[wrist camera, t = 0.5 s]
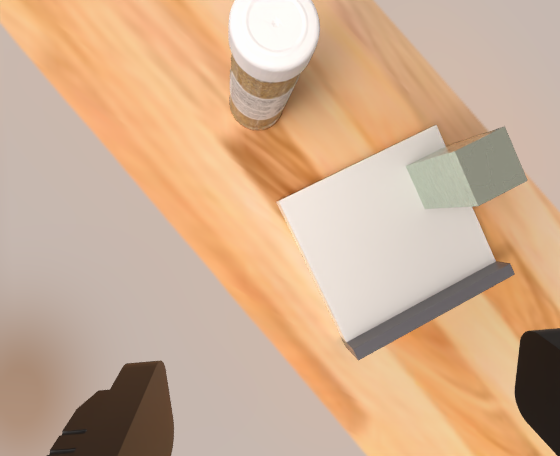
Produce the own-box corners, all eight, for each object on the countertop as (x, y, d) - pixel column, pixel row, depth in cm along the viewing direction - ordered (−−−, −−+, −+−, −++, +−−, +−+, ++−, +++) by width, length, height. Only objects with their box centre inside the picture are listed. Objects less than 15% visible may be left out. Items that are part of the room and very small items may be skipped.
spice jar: (256, 65, 32) (276, -46, 18) (294, 106, 32) (340, 26, 19) (216, 103, 31) (208, 17, 18) (256, 143, 32) (276, 89, 19)
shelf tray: (276, 201, 32) (281, 199, 29) (427, 128, 34) (447, 119, 31) (346, 348, 33) (359, 362, 30) (489, 270, 35) (515, 275, 32)
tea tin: (405, 166, 32) (454, 151, 25) (445, 146, 32) (504, 126, 26) (424, 209, 32) (478, 206, 25) (464, 188, 33) (527, 180, 26)
